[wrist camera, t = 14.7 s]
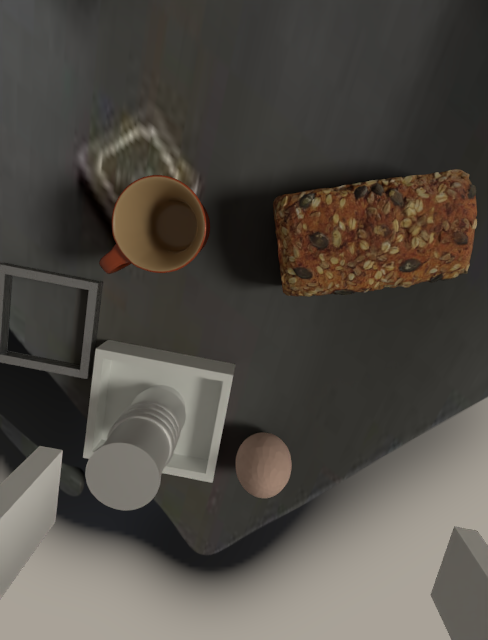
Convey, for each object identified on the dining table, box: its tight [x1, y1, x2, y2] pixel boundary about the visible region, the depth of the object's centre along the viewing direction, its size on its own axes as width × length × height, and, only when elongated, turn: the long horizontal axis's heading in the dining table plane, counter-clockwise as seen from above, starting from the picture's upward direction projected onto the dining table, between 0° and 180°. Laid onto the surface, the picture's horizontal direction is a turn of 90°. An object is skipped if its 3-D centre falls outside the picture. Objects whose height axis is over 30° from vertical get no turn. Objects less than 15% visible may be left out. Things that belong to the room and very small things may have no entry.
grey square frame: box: [0, 263, 103, 379], centre depth 50 cm, size 12×12×2 cm
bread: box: [273, 169, 477, 296], centre depth 43 cm, size 19×11×10 cm, turn 97°
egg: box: [236, 432, 292, 498], centre depth 49 cm, size 7×7×9 cm
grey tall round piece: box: [85, 385, 186, 510], centre depth 44 cm, size 7×7×15 cm
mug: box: [99, 175, 210, 274], centre depth 43 cm, size 12×9×10 cm
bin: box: [83, 340, 235, 483], centre depth 51 cm, size 14×16×4 cm
